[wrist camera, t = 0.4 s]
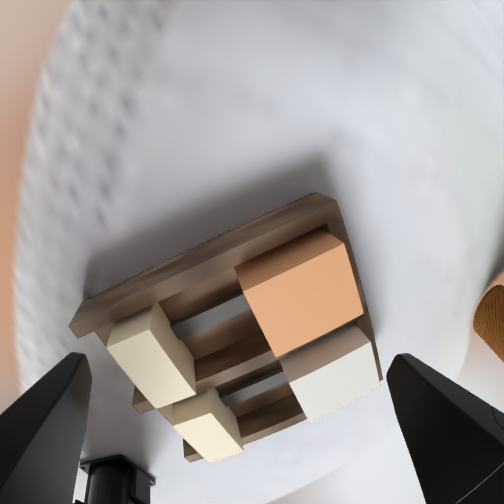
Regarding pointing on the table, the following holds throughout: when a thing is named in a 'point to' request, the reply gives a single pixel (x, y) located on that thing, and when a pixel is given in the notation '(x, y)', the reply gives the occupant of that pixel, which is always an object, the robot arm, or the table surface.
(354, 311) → the cream orange dumbbell block
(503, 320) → the disposable coffee cup
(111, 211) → the table surface
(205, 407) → the cream white block dumbbell
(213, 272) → the lane rack
